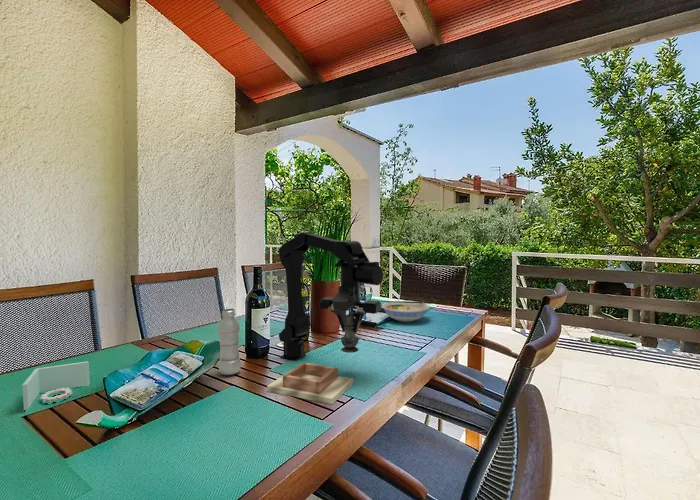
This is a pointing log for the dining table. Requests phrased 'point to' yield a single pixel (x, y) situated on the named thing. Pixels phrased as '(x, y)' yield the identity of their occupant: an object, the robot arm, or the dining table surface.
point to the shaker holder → (312, 383)
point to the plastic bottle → (229, 343)
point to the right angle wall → (55, 382)
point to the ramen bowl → (405, 310)
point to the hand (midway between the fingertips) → (349, 332)
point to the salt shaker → (349, 335)
